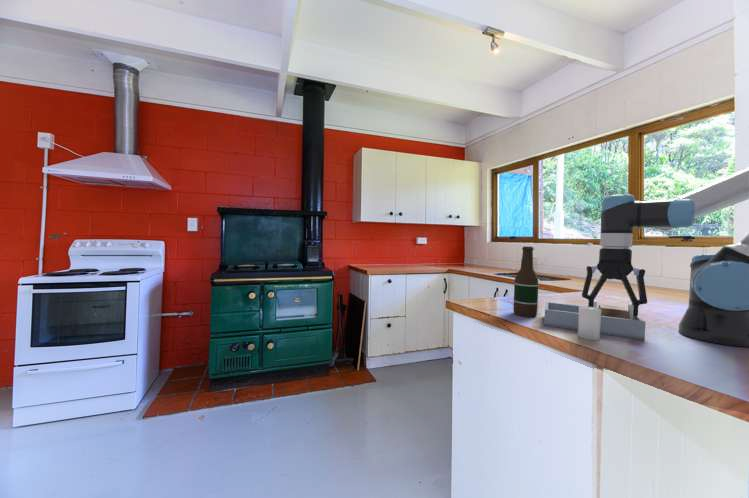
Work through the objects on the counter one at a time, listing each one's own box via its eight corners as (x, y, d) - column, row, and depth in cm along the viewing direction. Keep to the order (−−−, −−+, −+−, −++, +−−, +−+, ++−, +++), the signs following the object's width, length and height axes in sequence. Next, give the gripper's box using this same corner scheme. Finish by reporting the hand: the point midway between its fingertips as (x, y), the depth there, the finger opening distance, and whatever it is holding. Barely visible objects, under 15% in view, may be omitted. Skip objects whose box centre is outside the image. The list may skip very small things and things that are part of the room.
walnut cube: (622, 326, 92) (623, 306, 91) (626, 331, 87) (627, 310, 86) (597, 323, 95) (598, 304, 94) (600, 327, 90) (601, 307, 89)
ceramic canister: (598, 336, 84) (600, 307, 84) (600, 341, 80) (602, 311, 80) (577, 333, 87) (578, 305, 86) (578, 337, 82) (579, 308, 82)
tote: (633, 327, 93) (634, 311, 93) (644, 340, 82) (645, 321, 81) (545, 316, 105) (546, 301, 105) (544, 325, 94) (544, 309, 94)
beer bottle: (540, 318, 102) (543, 247, 102) (516, 316, 104) (518, 246, 103) (533, 312, 110) (536, 246, 109) (510, 311, 112) (513, 246, 111)
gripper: (658, 249, 88) (653, 327, 89) (573, 246, 98) (569, 316, 99) (666, 249, 81) (661, 333, 82) (574, 246, 92) (570, 321, 93)
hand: (611, 324), depth 91 cm, fingers open, 8 cm apart
